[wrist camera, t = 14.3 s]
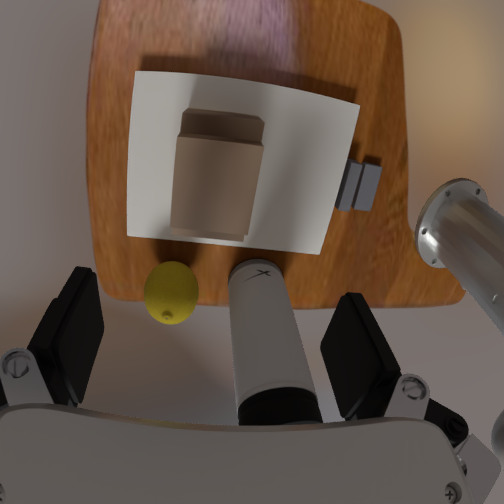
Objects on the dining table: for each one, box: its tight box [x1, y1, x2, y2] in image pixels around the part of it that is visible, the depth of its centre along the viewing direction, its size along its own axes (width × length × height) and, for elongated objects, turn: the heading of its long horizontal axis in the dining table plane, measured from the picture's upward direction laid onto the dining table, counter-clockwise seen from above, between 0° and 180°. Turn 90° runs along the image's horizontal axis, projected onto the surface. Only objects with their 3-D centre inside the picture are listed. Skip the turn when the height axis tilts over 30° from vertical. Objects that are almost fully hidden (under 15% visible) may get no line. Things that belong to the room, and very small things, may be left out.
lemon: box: [144, 261, 199, 324], centre depth 31 cm, size 6×6×8 cm
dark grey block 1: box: [335, 158, 362, 212], centre depth 30 cm, size 2×5×1 cm
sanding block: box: [170, 107, 265, 242], centre depth 25 cm, size 6×10×6 cm, turn 170°
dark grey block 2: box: [351, 162, 382, 211], centre depth 31 cm, size 2×5×1 cm, turn 173°
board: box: [127, 71, 360, 254], centre depth 28 cm, size 20×16×2 cm
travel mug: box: [228, 259, 323, 426], centre depth 28 cm, size 6×7×20 cm
